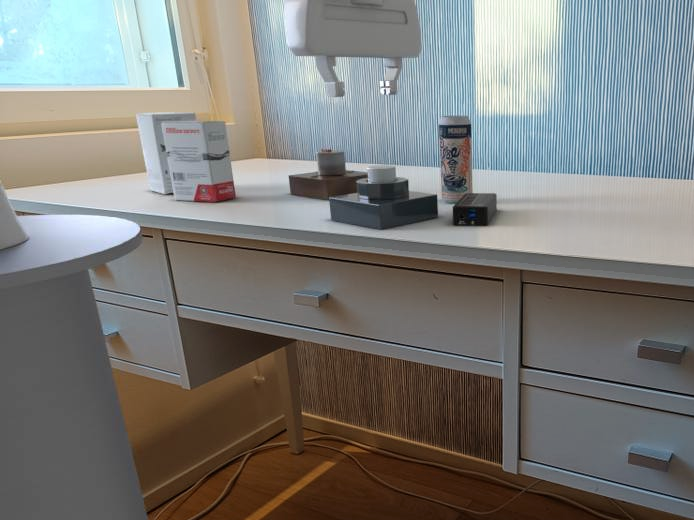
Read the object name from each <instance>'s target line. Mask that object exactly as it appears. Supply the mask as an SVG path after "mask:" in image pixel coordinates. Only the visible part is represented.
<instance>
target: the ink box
mask: <svg viewBox="0 0 694 520" xmlns="http://www.w3.org/2000/svg"><path fill="white" fill-rule="evenodd" d="M161 125H162V131H163V136H164V142H165V148H166V153H167V159H168V164H169V170H170V176H171V182H172V187H173V193H172V194H173V198H174V200H175V201H187V202H205V203H218V202H222V201H226V200H231V199H236V198H237V194H236V188H235V180H234V174H233V168H232V160H231V154H230V146H229V140H228V132H227V126H226V121H223V120H196V121H163V123H161Z"/></svg>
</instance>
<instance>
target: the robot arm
mask: <svg viewBox="0 0 694 520" xmlns="http://www.w3.org/2000/svg"><path fill="white" fill-rule="evenodd" d="M283 4H284V5H283V11H284V12H283V13H284V14H283V15H284V29H285V37H286V44H287V47H288V48H289V50H290V51H291V53H292V55H293V56H295V57H312V58H313V57H314V58H315V67H316V69H317V71H318V73H319V75H320V76H321V78H322V80H323V81H324V84H325V90H326V91H325V92H326V96H327V97H328V98H344V97H345V94H346V91H345V81H340V80H339V78H338V75H337V73H336V71H335V69H334V67H336V66H337V60H336V58H365V59H367V58H368V59H369V58H371V59H373V58H374V59H383V67H384V68H386V71H385V75H384V79H383V80H380V81H379V87H380V90H379V91H380V95H382V96H396V95H397V94H398V80H399V78H400V75H401V72H402V69H403V59H416V58H418V57H419V56H420V55H421V53H422V49H423V43H422V41H423V40H422V31H421V24H420V19H419V12H418V8H417V5H416V2H415V0H284V1H283ZM17 216H18V215H17V212H16V211H15V209H14V208H13V205H12V203H11V200H10V199H9V196H8V194H7V192H6V190H5V187H4V185H3V183H2V181H1V179H0V250H1V249H4V248H8V247H11V246H14V245H17V244H19V243H22V242H24V241H26V240H27V239H28V238H29V235H28V233H27V232H26V230H25V229H24V227H23V225H22V224H21V222H20V220H19V219H18V217H17Z"/></svg>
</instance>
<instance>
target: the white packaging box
mask: <svg viewBox="0 0 694 520" xmlns="http://www.w3.org/2000/svg"><path fill="white" fill-rule="evenodd" d="M135 118H136V122H137V123H136V124H137V127H138V133H139V138H140V144H141V149H142V154H143V160H144V164H145V170H146V176H147V181H148V184H149V191H152V192H156V193H158V194H163V195H169V194H174V193H173V187H172V182H171V176H170V170H169V164H168V159H167V153H166V148H165V142H164V136H163V131H162V125H161V123H163V121H197V116H196V112H186V111H185V112H184V111H183V112H182V111H181V112H180V111H168V112H167V111H166V112H165V111H164V112H162V111H161V112H139V113H136V114H135Z"/></svg>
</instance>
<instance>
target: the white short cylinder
mask: <svg viewBox="0 0 694 520" xmlns="http://www.w3.org/2000/svg"><path fill="white" fill-rule="evenodd" d="M396 171H397V169H396V166H395V165H391V164H390V165H389V164H388V165H387V164H385V165H384V164H382V165H381V164H380V165H370V166H367V168H366V172H368V182H392V181H396V177H397V172H396Z"/></svg>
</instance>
